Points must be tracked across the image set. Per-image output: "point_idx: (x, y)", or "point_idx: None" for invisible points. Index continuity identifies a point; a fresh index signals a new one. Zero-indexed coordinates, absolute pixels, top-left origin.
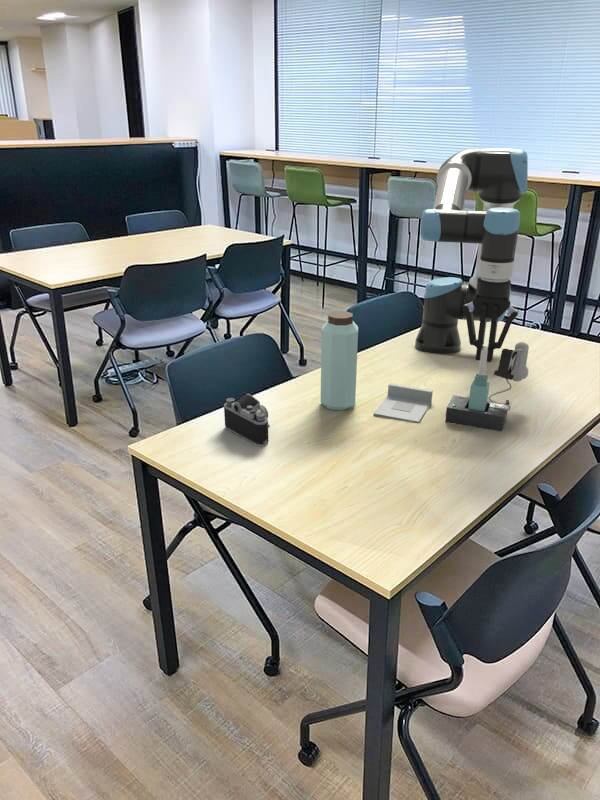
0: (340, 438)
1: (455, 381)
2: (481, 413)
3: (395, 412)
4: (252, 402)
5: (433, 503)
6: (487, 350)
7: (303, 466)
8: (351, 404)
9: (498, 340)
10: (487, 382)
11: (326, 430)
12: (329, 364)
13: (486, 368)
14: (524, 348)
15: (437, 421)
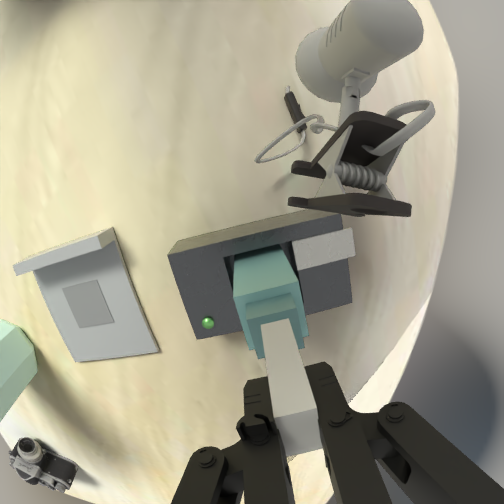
0: (110, 437)
1: (104, 54)
2: None
3: (96, 338)
4: (34, 479)
5: (302, 478)
6: (321, 447)
7: (140, 485)
8: (34, 358)
9: (396, 481)
10: (290, 288)
11: (80, 426)
12: None
13: (291, 329)
14: (415, 49)
15: (182, 316)
